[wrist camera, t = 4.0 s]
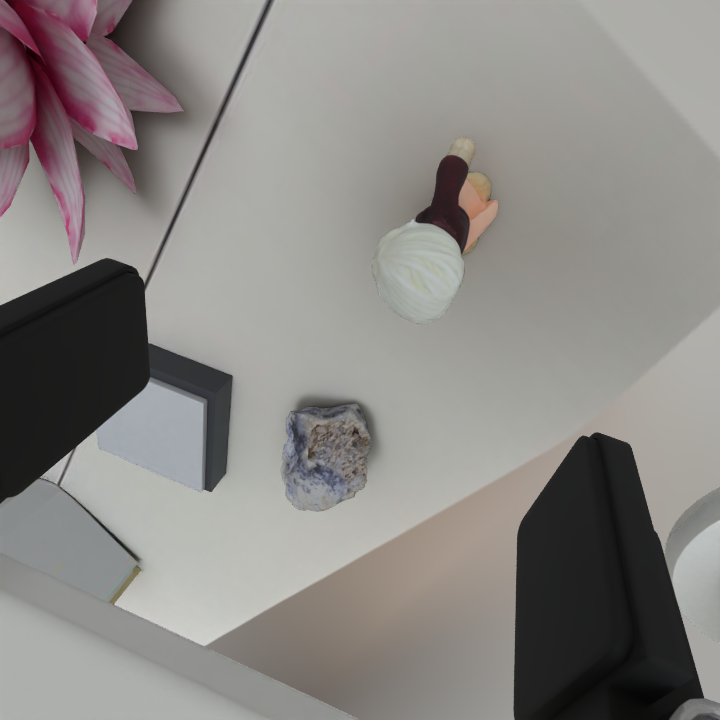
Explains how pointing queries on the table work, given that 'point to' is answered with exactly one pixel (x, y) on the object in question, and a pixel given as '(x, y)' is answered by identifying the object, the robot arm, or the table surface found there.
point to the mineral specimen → (325, 456)
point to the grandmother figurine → (435, 241)
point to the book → (64, 541)
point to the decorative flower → (68, 97)
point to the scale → (175, 422)
